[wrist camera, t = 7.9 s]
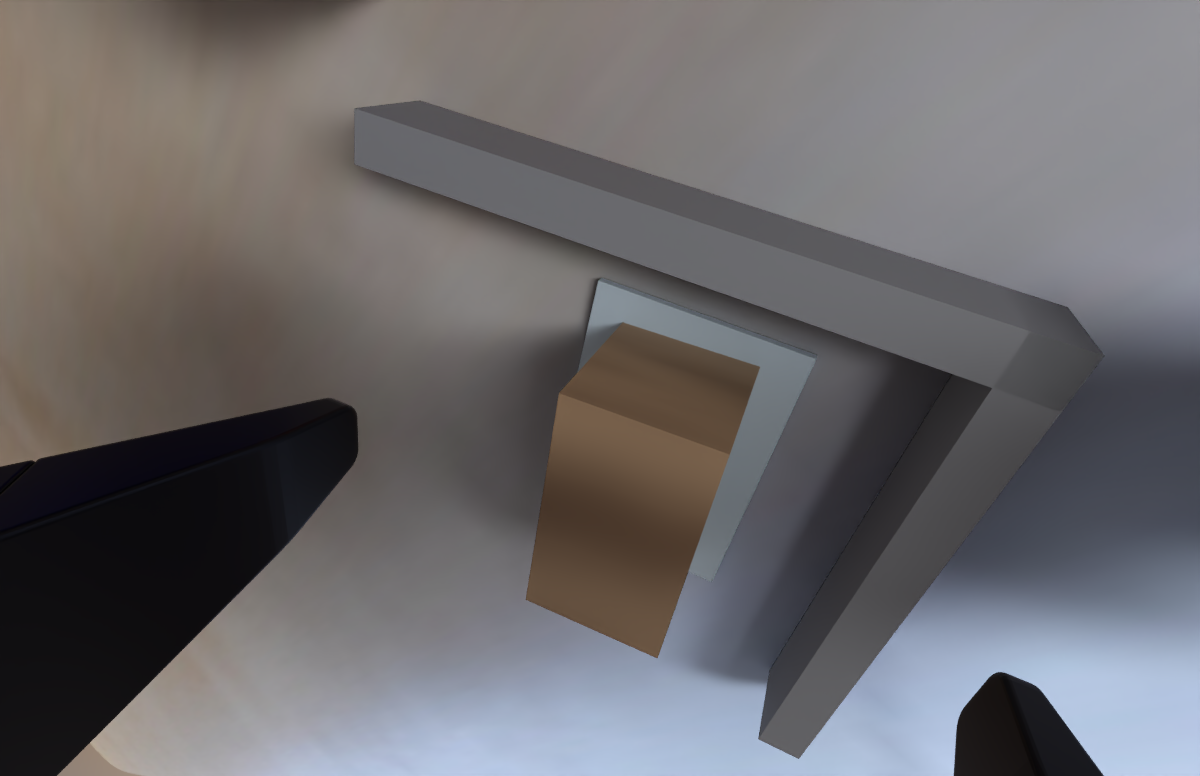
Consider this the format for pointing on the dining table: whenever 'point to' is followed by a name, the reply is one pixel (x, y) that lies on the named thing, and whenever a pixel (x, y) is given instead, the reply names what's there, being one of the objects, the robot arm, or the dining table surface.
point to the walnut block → (634, 481)
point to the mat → (763, 413)
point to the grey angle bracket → (815, 296)
